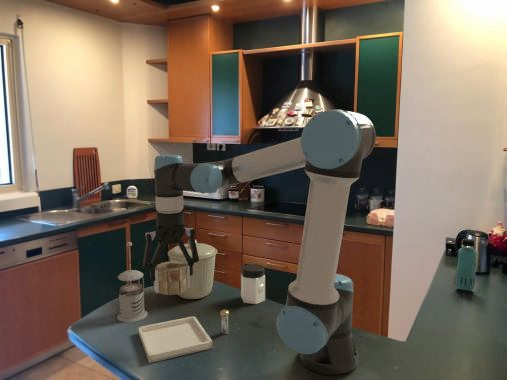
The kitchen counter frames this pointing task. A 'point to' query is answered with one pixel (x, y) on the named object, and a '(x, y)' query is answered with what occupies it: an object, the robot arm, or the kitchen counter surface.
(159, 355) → the tray
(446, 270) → the kitchen counter surface
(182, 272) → the ring
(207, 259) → the canister
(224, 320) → the stake
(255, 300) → the jar
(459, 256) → the beverage bottle
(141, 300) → the french press
